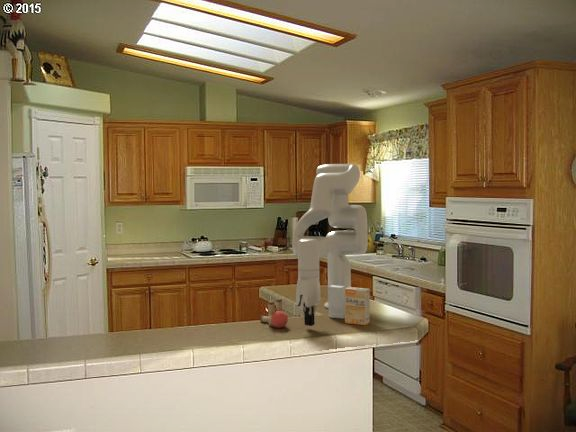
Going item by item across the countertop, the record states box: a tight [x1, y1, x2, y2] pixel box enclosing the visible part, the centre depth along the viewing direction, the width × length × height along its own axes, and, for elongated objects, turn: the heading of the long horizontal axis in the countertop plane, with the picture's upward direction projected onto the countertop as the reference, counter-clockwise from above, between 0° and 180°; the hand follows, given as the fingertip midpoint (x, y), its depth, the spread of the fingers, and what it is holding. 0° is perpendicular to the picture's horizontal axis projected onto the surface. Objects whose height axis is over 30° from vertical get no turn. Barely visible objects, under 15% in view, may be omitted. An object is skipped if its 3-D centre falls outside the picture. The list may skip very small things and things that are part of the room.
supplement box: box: [344, 286, 371, 326], centre depth 219 cm, size 8×5×13 cm, turn 62°
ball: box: [271, 310, 289, 329], centre depth 215 cm, size 6×6×6 cm
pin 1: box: [267, 300, 275, 327], centre depth 218 cm, size 2×2×9 cm
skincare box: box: [327, 285, 346, 320], centre depth 229 cm, size 6×4×12 cm
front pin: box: [259, 315, 269, 324], centre depth 222 cm, size 2×2×9 cm
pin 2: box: [275, 298, 283, 312], centre depth 222 cm, size 2×2×9 cm
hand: (309, 324), depth 212 cm, fingers closed
